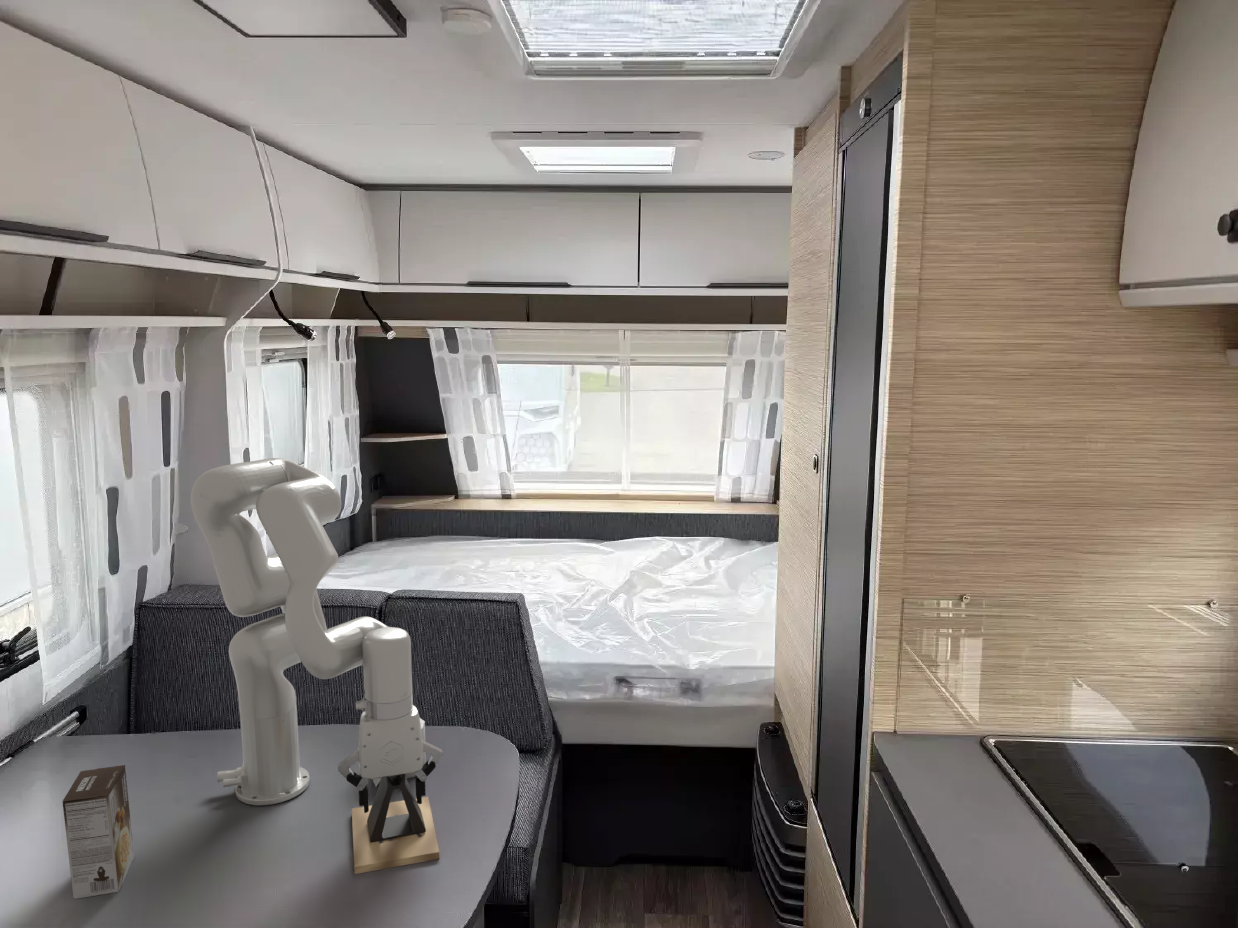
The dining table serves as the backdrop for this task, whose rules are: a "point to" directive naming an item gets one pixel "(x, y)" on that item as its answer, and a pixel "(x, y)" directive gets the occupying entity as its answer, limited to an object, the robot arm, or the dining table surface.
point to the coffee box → (98, 831)
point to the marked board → (392, 841)
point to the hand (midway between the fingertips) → (392, 803)
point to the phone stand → (394, 825)
